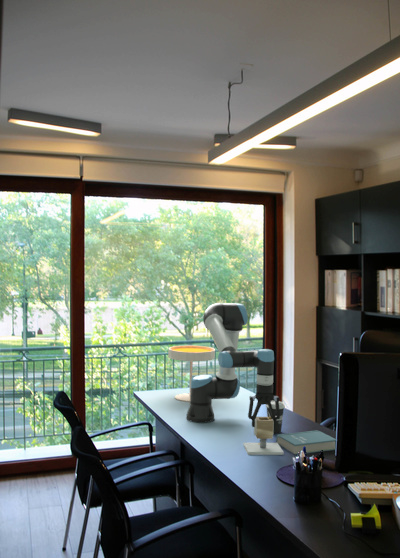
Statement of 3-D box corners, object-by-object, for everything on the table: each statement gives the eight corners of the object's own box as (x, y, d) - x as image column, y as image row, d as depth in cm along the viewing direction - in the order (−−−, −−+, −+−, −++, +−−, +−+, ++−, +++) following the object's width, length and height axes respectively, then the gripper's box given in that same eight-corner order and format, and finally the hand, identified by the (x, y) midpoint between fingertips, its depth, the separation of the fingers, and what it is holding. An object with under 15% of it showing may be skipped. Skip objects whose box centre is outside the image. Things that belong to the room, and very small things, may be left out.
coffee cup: (272, 435, 265) (273, 405, 265) (261, 430, 274) (262, 401, 273) (287, 433, 270) (288, 403, 269) (276, 428, 278) (277, 399, 278)
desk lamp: (186, 390, 359) (187, 344, 359) (223, 397, 342) (224, 348, 342) (157, 398, 335) (158, 348, 335) (195, 406, 318) (196, 354, 318)
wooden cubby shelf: (254, 433, 247) (255, 414, 247) (269, 434, 247) (270, 415, 247) (257, 438, 240) (257, 419, 240) (272, 438, 240) (273, 419, 240)
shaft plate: (247, 454, 237) (248, 440, 237) (243, 445, 250) (243, 431, 250) (283, 454, 238) (283, 441, 238) (277, 445, 251) (277, 432, 251)
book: (294, 455, 239) (295, 444, 239) (276, 444, 254) (276, 434, 253) (336, 450, 247) (337, 439, 247) (316, 439, 262) (316, 429, 262)
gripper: (244, 385, 239) (243, 436, 239) (288, 385, 240) (287, 436, 241) (241, 381, 246) (240, 431, 247) (284, 382, 248) (283, 431, 248)
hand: (263, 434), depth 244 cm, fingers closed on wooden cubby shelf, 7 cm apart
